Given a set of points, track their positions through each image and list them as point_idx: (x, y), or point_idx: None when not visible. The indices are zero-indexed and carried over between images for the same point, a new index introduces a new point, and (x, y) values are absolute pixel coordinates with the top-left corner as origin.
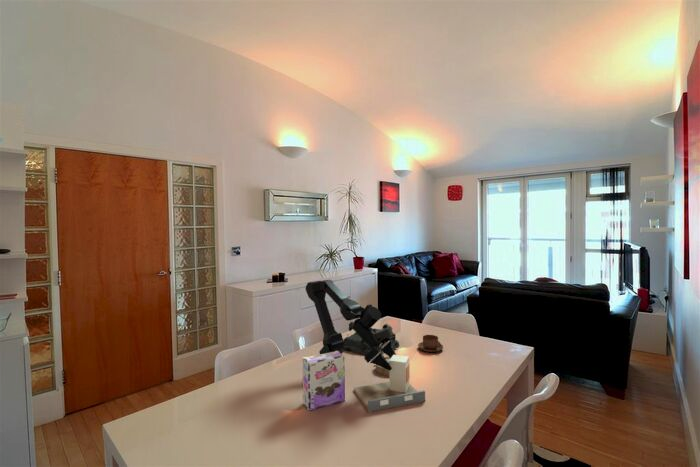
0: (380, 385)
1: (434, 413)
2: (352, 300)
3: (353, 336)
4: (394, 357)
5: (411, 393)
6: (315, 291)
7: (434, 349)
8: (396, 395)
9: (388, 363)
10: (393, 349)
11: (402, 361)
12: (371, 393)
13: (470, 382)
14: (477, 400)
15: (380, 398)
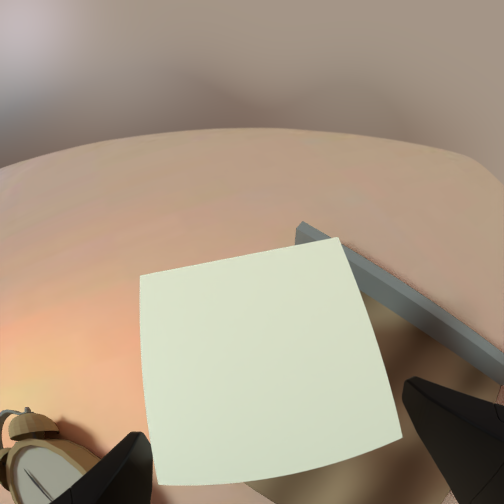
0: (303, 491)
1: (355, 198)
2: None
3: None
4: (260, 438)
5: (366, 261)
6: None
7: None
8: (430, 311)
9: (450, 401)
10: (60, 498)
11: (329, 278)
12: (411, 469)
13: (94, 187)
14: (200, 143)
15: (489, 352)
